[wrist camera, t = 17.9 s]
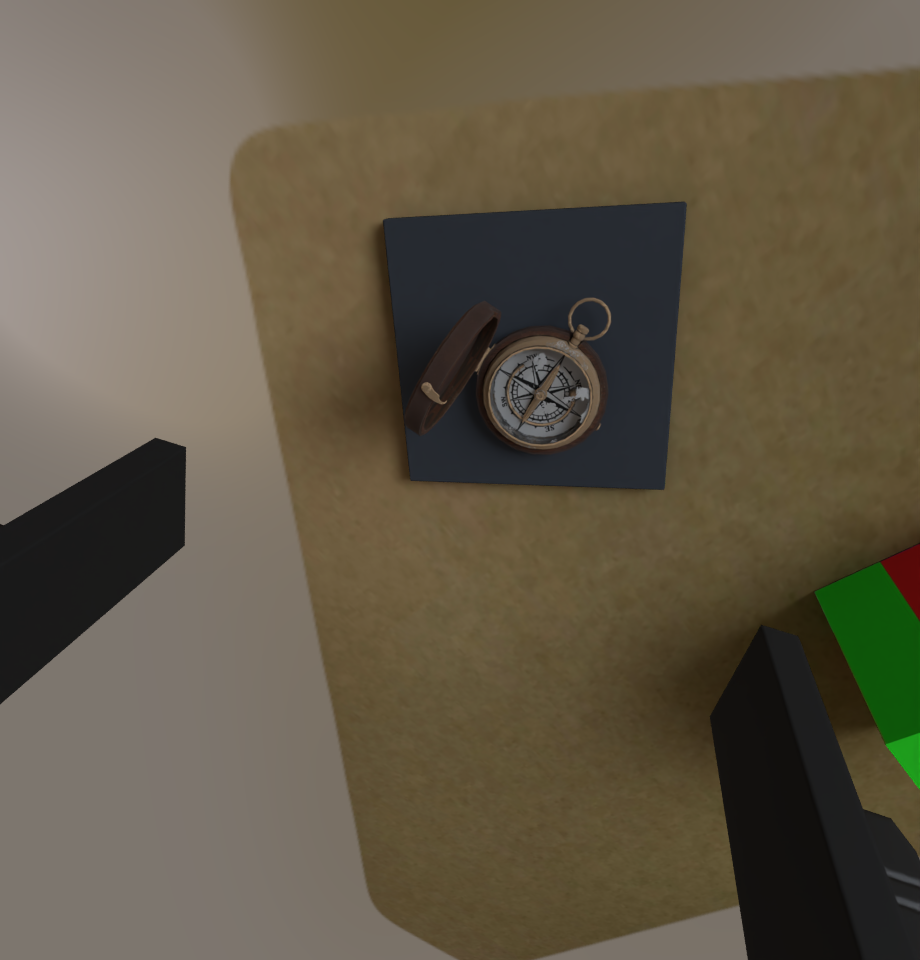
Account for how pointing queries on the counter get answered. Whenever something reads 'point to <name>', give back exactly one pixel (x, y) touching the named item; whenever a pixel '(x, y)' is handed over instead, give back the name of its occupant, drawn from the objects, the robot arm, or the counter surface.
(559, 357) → the compass
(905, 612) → the puzzle toy
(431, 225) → the mat
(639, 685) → the counter surface
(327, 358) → the counter surface
